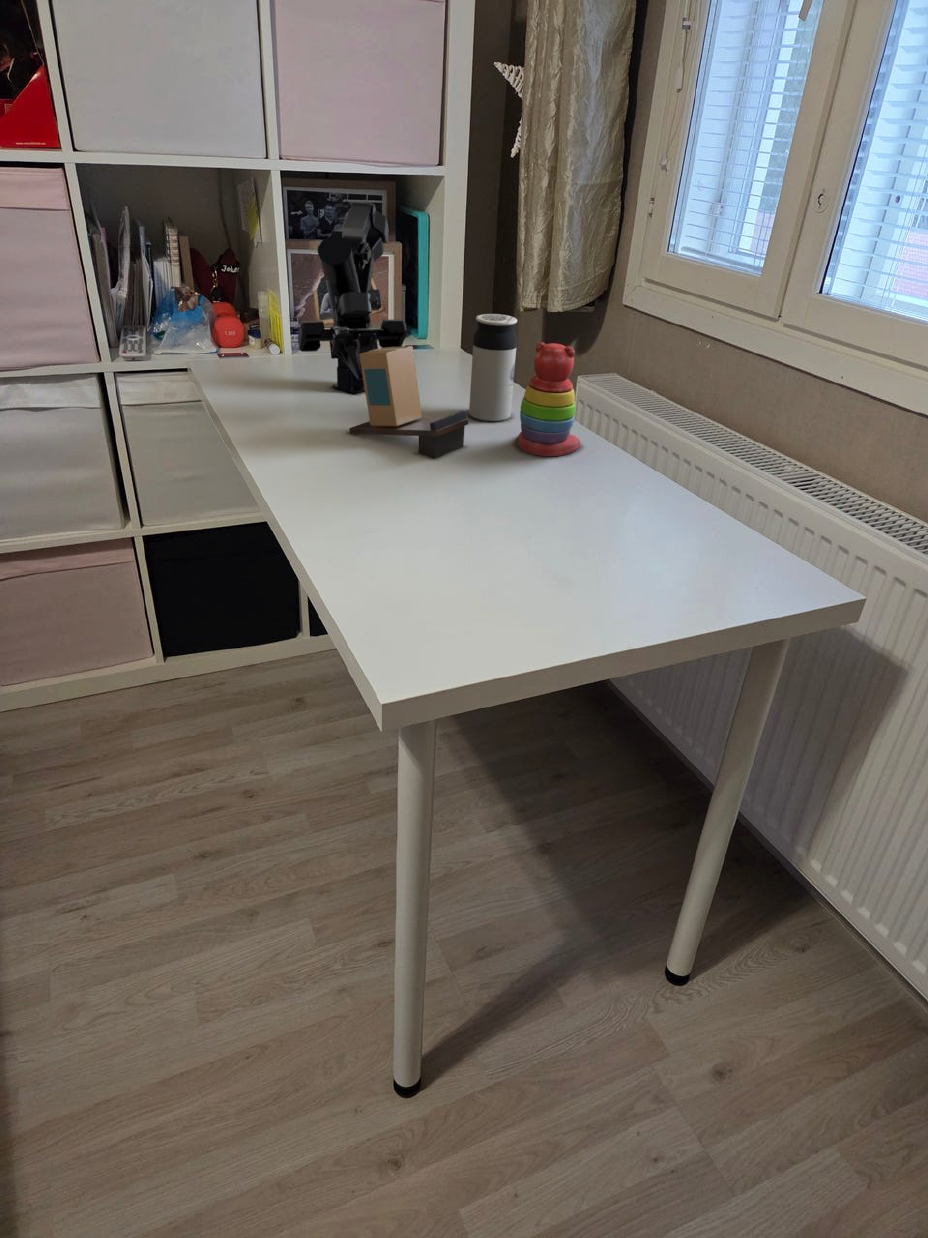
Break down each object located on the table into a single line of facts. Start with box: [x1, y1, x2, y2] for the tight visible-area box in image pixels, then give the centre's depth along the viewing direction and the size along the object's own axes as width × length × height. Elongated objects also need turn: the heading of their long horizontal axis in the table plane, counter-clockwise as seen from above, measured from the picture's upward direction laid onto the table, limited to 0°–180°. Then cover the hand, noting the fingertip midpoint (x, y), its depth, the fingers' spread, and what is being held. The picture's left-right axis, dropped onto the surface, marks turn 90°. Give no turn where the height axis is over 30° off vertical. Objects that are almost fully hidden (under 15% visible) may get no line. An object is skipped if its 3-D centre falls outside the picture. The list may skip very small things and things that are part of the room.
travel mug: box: [468, 313, 518, 422], centre depth 158 cm, size 8×8×18 cm
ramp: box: [348, 410, 469, 460], centre depth 146 cm, size 19×9×6 cm, turn 55°
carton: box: [359, 345, 423, 426], centre depth 145 cm, size 8×7×13 cm
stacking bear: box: [516, 341, 581, 457], centre depth 144 cm, size 11×10×18 cm
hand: (360, 378), depth 148 cm, fingers closed
